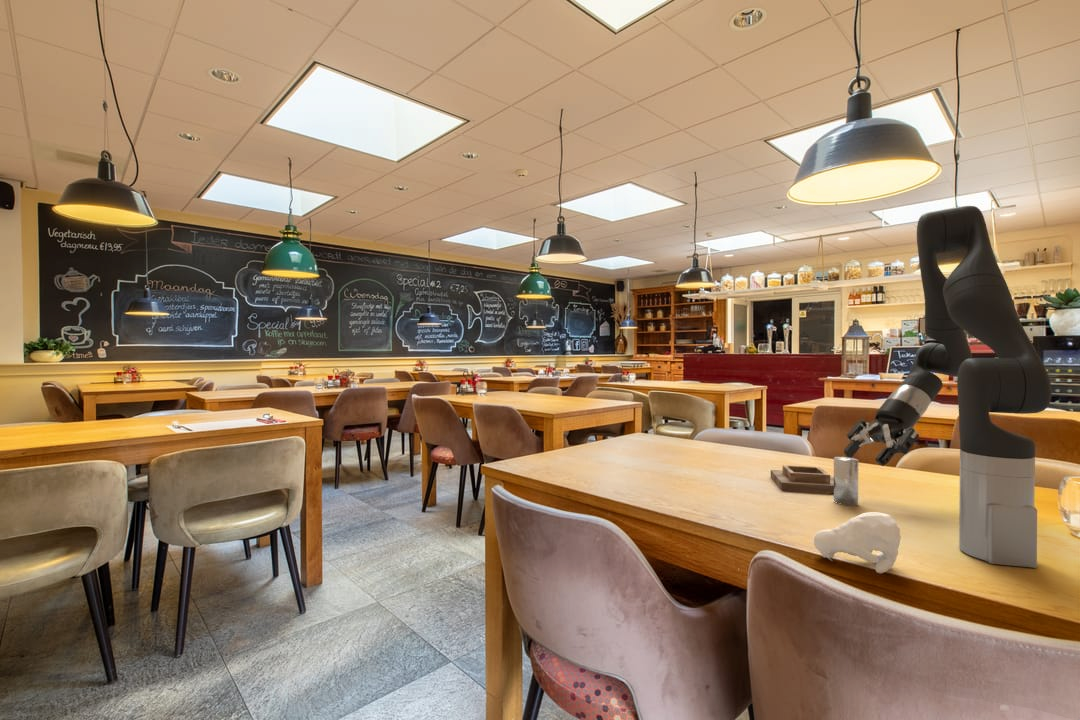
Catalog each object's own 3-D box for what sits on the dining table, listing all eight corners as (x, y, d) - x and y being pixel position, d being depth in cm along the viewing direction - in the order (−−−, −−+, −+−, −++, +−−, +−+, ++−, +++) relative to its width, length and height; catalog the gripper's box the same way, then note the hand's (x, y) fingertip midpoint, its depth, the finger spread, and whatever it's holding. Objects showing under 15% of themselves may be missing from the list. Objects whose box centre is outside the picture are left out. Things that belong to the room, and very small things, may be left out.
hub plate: (844, 494, 118) (845, 478, 118) (781, 490, 122) (781, 474, 122) (827, 480, 131) (827, 465, 131) (770, 477, 135) (770, 462, 135)
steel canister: (861, 506, 109) (861, 461, 109) (837, 504, 110) (837, 460, 110) (853, 500, 113) (854, 457, 113) (830, 498, 115) (830, 456, 115)
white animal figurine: (901, 520, 73) (810, 515, 79) (907, 577, 73) (815, 568, 79) (895, 509, 79) (810, 504, 85) (901, 562, 79) (816, 554, 85)
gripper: (867, 395, 121) (828, 442, 119) (924, 400, 107) (880, 454, 105) (884, 415, 123) (846, 463, 120) (942, 423, 109) (900, 477, 106)
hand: (862, 459), depth 113 cm, fingers open, 8 cm apart
